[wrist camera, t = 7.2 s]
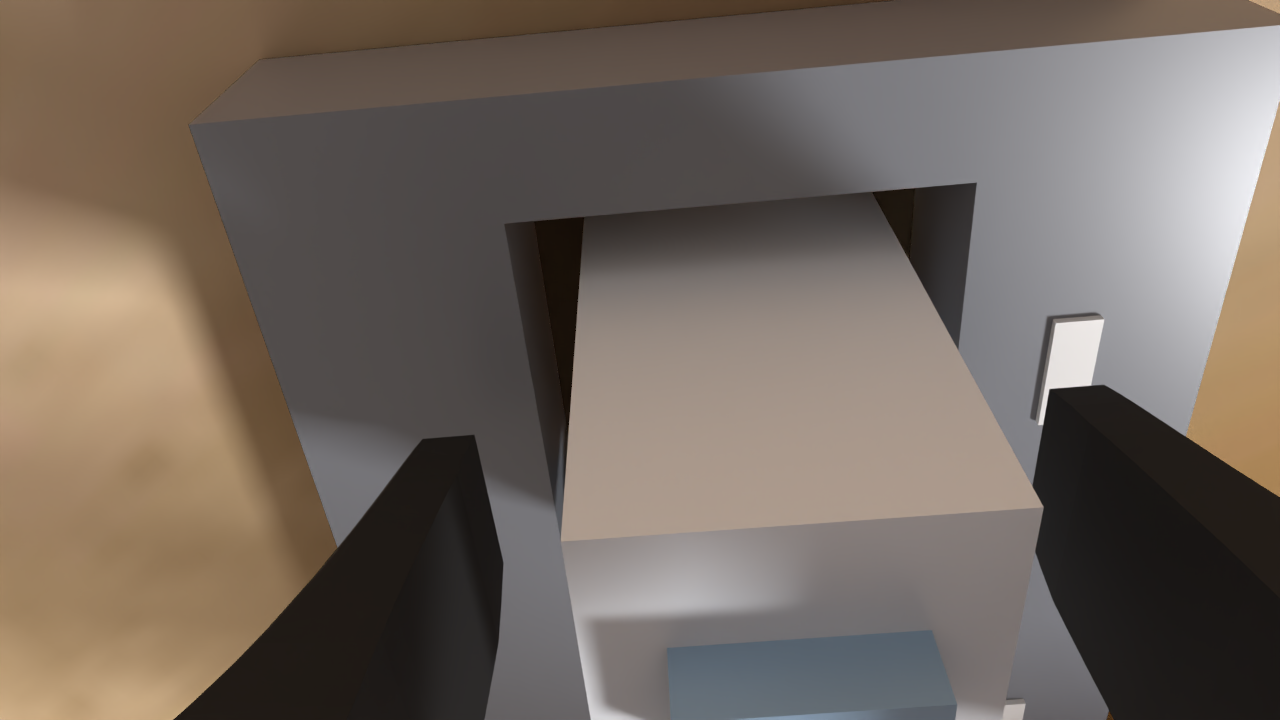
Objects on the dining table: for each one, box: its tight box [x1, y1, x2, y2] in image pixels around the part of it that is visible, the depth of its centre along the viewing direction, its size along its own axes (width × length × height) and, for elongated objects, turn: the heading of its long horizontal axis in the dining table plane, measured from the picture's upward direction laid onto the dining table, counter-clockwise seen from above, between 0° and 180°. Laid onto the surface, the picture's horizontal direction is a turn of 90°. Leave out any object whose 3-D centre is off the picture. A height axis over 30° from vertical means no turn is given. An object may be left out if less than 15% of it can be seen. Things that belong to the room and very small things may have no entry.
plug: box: [561, 192, 1044, 720], centre depth 12 cm, size 4×4×8 cm
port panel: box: [189, 0, 1280, 720], centre depth 16 cm, size 16×12×3 cm
